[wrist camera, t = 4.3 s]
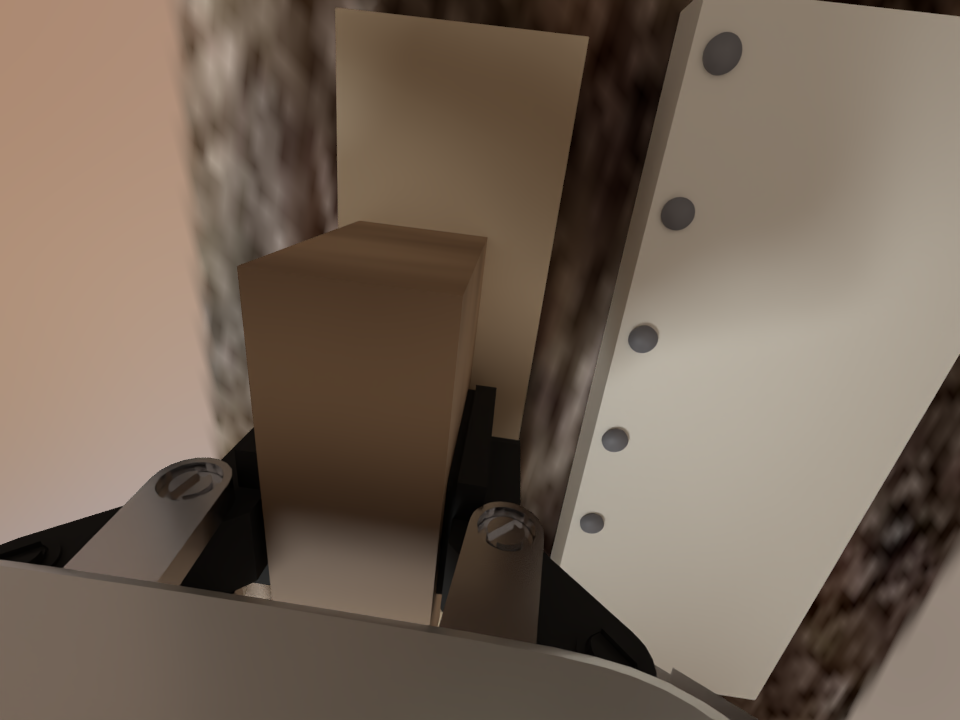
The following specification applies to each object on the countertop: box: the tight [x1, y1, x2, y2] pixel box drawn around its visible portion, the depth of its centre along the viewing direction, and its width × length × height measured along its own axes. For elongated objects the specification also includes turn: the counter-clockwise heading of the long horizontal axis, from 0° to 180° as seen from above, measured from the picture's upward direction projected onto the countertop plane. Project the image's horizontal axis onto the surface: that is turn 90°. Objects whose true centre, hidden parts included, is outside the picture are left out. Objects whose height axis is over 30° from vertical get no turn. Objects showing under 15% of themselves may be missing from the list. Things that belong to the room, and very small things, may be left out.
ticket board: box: [550, 0, 960, 700], centre depth 13 cm, size 20×8×2 cm, turn 174°
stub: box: [237, 7, 589, 627], centre depth 11 cm, size 18×5×6 cm, turn 174°
